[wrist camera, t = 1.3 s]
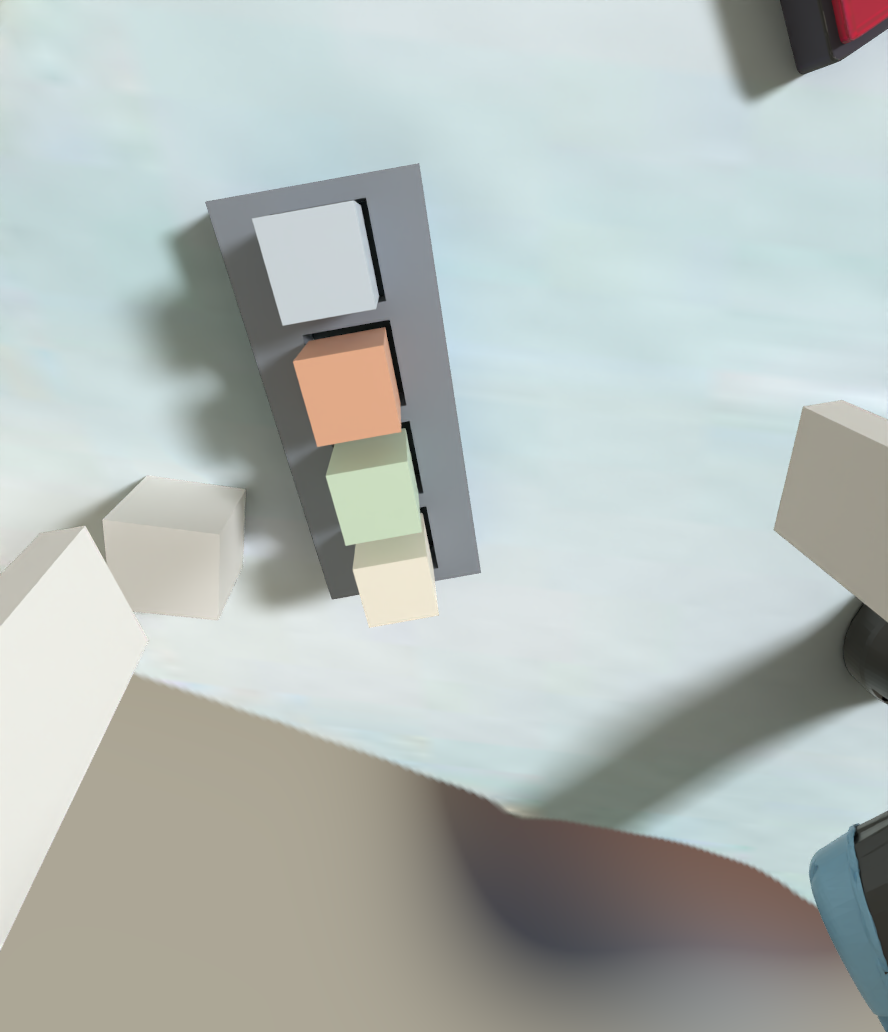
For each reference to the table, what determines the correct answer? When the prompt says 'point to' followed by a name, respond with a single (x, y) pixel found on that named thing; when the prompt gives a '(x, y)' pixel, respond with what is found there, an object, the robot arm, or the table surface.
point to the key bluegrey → (318, 262)
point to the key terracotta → (349, 387)
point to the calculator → (831, 29)
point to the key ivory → (396, 578)
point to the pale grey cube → (176, 546)
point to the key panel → (404, 304)
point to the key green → (374, 488)
